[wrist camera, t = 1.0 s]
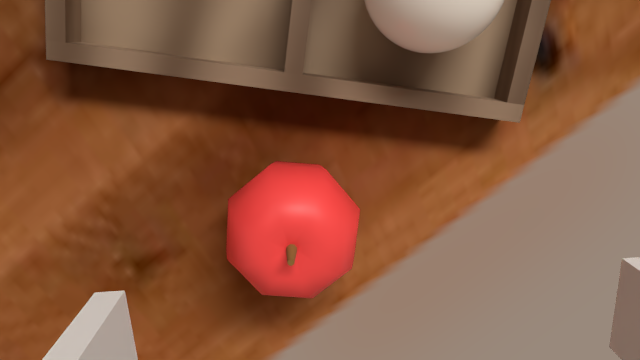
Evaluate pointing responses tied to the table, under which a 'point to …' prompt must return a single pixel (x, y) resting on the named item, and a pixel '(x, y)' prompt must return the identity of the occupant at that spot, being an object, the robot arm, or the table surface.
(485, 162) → the table surface
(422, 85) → the walnut well tray
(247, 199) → the apple
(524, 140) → the table surface
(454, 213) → the table surface
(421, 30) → the ceramic ball
